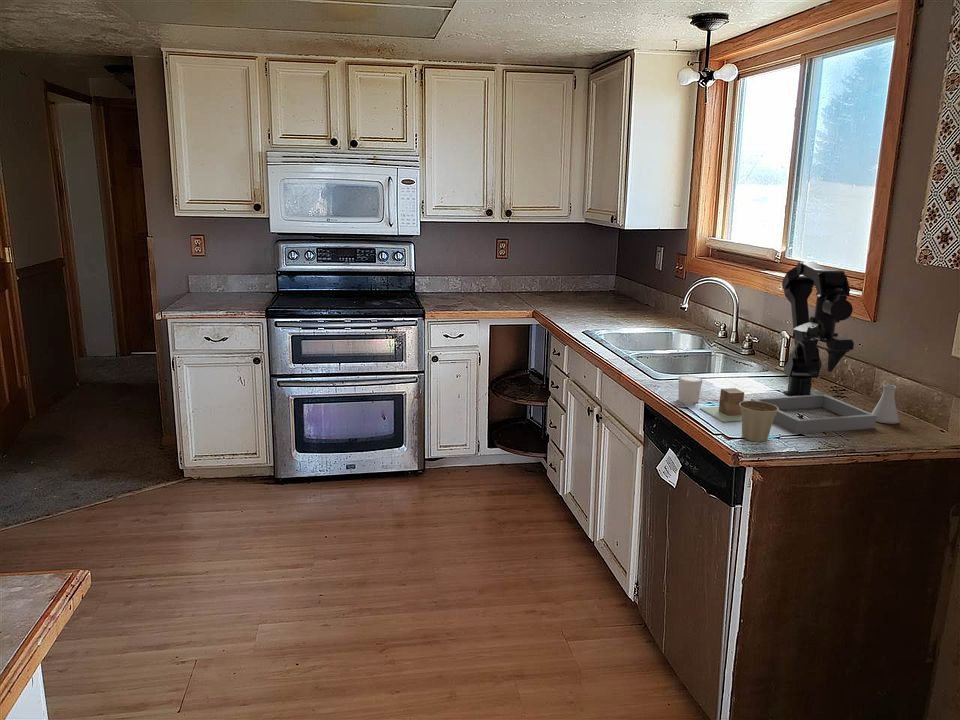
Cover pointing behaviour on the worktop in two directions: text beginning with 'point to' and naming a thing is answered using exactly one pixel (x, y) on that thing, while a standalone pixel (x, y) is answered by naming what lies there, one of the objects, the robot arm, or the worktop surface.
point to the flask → (887, 406)
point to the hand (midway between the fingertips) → (818, 367)
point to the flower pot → (757, 419)
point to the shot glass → (689, 389)
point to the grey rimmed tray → (848, 420)
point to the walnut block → (730, 401)
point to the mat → (721, 414)
